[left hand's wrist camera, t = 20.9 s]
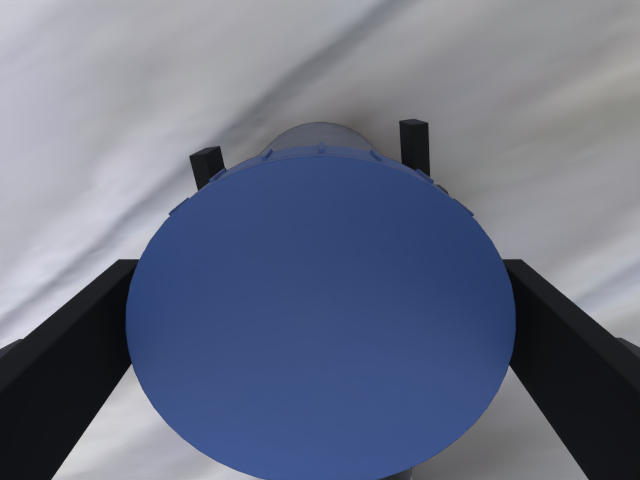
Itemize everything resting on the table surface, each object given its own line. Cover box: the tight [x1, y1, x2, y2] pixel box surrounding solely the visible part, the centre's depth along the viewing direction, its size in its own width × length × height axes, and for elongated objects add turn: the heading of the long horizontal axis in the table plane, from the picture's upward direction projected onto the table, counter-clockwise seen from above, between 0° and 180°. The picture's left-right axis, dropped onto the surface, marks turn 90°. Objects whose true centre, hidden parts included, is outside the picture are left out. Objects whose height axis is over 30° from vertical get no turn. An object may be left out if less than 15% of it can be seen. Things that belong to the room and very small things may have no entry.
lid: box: [126, 142, 516, 480], centre depth 11 cm, size 10×10×2 cm
